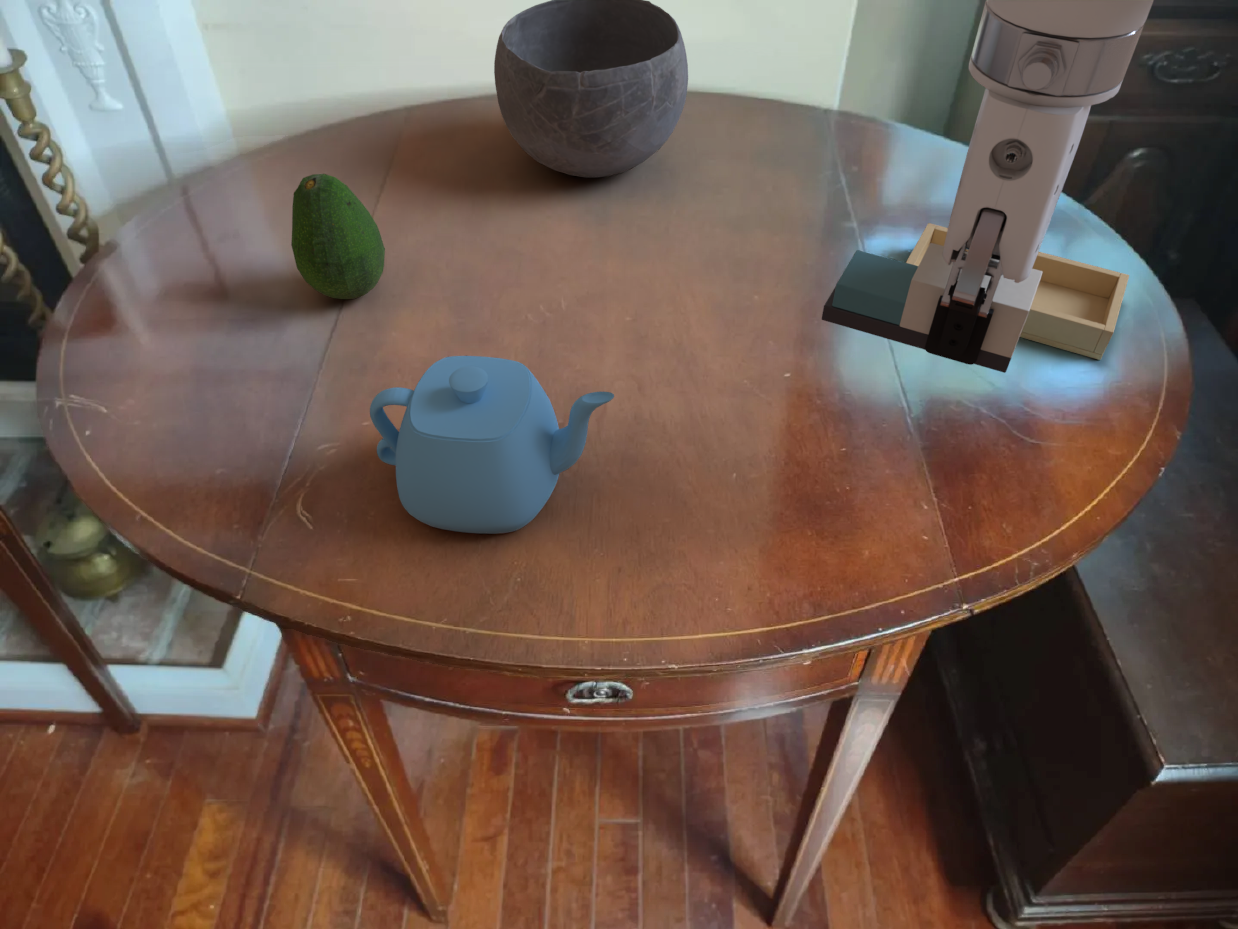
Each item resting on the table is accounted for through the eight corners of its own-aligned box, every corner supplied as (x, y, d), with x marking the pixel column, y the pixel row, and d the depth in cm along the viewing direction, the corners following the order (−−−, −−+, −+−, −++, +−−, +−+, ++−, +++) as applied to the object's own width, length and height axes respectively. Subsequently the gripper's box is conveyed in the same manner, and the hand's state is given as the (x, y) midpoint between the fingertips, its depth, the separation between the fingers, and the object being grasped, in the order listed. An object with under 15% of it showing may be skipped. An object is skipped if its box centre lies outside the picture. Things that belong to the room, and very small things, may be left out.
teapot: (602, 453, 60) (326, 431, 61) (604, 559, 67) (359, 536, 69) (624, 330, 68) (382, 313, 70) (624, 436, 76) (406, 419, 77)
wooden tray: (1116, 302, 88) (1129, 274, 86) (1100, 360, 83) (1113, 332, 80) (921, 249, 94) (928, 222, 92) (892, 300, 89) (899, 272, 86)
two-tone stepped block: (1019, 332, 62) (1043, 270, 58) (1005, 373, 59) (1029, 311, 55) (842, 283, 65) (854, 222, 62) (821, 319, 63) (832, 258, 59)
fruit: (316, 270, 92) (284, 155, 84) (397, 268, 92) (374, 154, 84) (299, 319, 87) (263, 202, 78) (385, 318, 87) (359, 201, 78)
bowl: (505, 120, 114) (493, -11, 103) (674, 116, 114) (680, -15, 104) (500, 211, 100) (485, 70, 89) (693, 205, 100) (702, 64, 89)
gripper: (1107, 133, 42) (990, 431, 55) (1148, 2, 52) (1042, 279, 65) (937, 99, 44) (864, 392, 57) (1009, -20, 54) (934, 251, 68)
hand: (960, 329), depth 61 cm, fingers closed on two-tone stepped block, 4 cm apart
